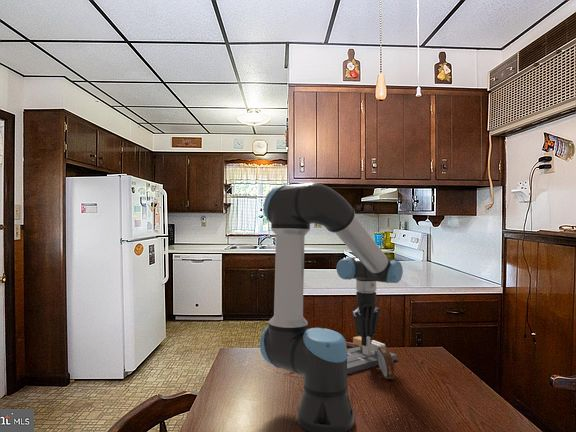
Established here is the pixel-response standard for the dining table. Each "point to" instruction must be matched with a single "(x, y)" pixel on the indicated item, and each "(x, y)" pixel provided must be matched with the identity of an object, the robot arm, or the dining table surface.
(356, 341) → the fader orange
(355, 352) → the console
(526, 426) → the dining table surface
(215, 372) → the dining table surface
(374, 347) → the fader cream
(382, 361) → the tin
